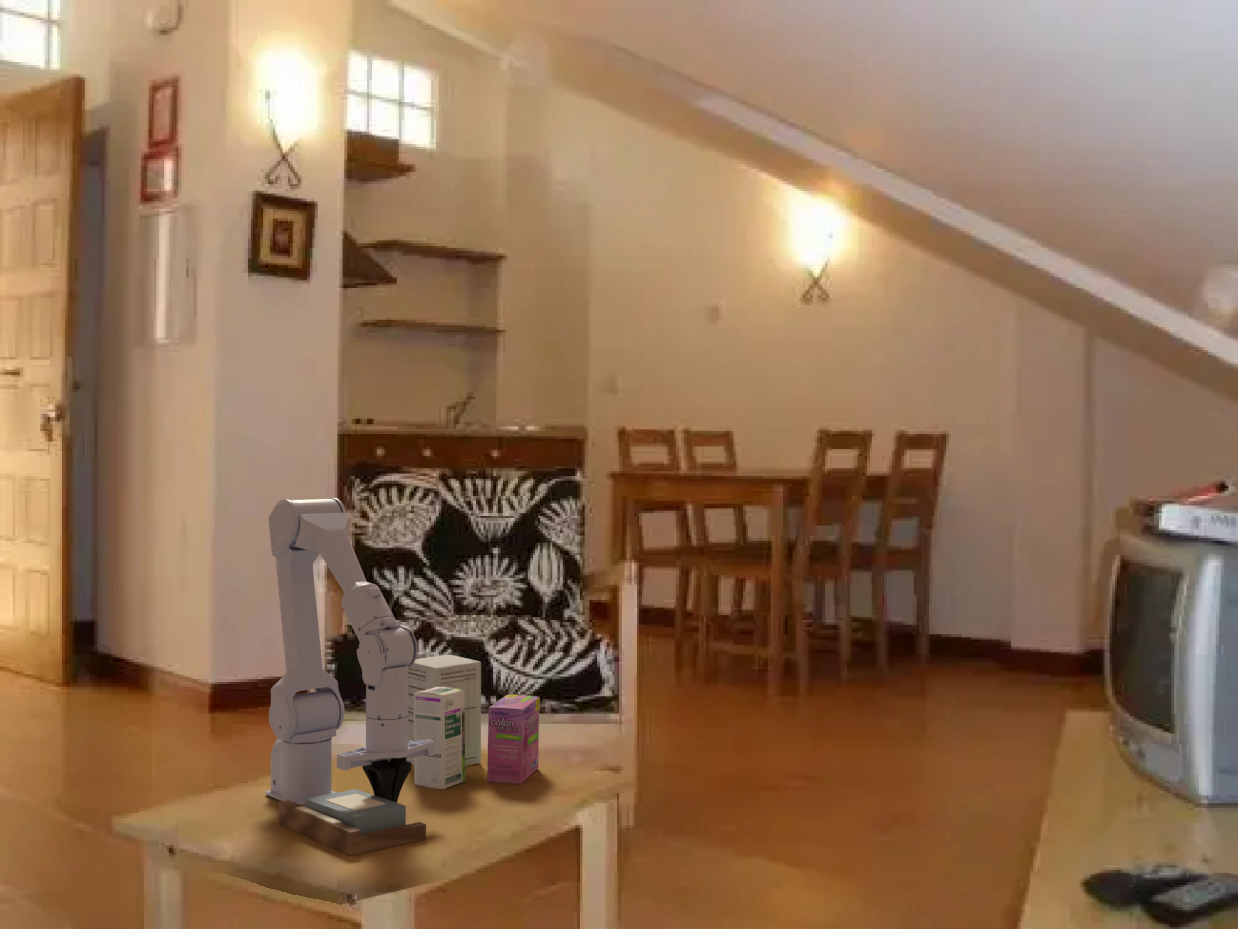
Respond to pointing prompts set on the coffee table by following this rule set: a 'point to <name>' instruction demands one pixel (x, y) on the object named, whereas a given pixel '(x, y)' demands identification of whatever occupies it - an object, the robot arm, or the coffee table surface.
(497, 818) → the coffee table surface
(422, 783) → the syrup box
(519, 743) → the box
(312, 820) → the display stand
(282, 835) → the coffee table surface
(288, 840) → the coffee table surface
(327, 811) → the carton
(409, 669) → the supplement box
